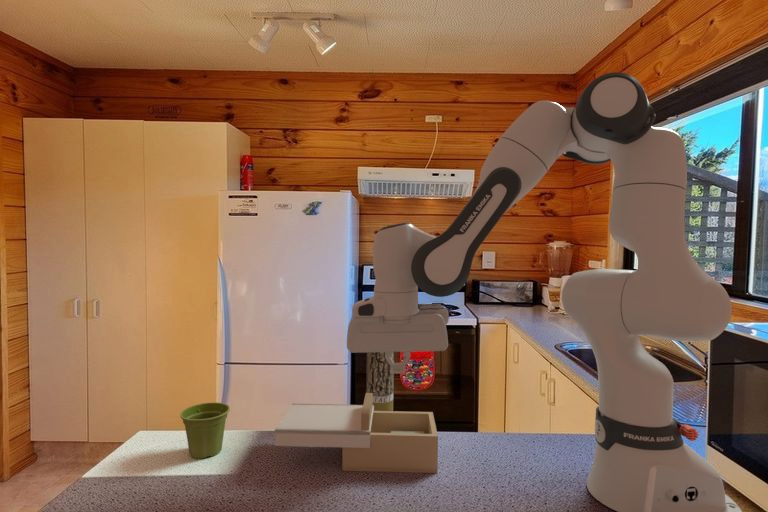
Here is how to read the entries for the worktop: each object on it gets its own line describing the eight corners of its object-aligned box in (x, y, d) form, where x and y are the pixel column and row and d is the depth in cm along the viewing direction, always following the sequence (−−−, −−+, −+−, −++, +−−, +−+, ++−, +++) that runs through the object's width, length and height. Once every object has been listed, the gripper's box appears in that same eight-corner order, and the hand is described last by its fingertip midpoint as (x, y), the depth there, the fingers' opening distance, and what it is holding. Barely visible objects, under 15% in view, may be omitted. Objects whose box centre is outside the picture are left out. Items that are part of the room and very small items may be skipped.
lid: (373, 418, 95) (374, 391, 95) (369, 447, 81) (370, 416, 81) (292, 417, 96) (292, 389, 95) (274, 445, 82) (274, 414, 82)
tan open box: (432, 444, 94) (432, 412, 94) (437, 473, 82) (437, 436, 82) (349, 442, 94) (349, 410, 94) (342, 470, 82) (342, 434, 82)
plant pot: (212, 465, 84) (212, 421, 84) (169, 460, 86) (169, 417, 85) (238, 444, 93) (238, 404, 93) (199, 440, 95) (199, 400, 95)
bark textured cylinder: (367, 409, 114) (368, 314, 113) (393, 409, 113) (394, 314, 113) (365, 419, 107) (366, 318, 107) (392, 420, 107) (393, 318, 106)
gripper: (446, 301, 90) (447, 367, 90) (347, 303, 90) (349, 368, 91) (450, 305, 84) (451, 376, 84) (344, 308, 84) (346, 378, 85)
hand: (398, 372), depth 88 cm, fingers closed
